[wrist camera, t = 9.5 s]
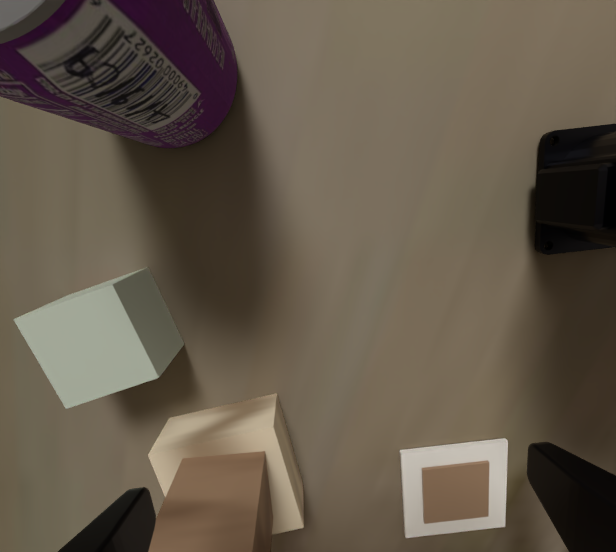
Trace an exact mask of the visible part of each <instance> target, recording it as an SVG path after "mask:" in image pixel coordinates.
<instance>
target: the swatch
mask: <svg viewBox="0 0 616 552" xmlns="http://www.w3.org/2000/svg"><path fill="white" fill-rule="evenodd" d="M507 454H508V441H507V440H506V438H502V439H493V440H485V441H476V442H467V443H458V444H449V445H441V446H432V447H423V448H414V449H405V450H400V464H401V483H402V501H403V519H404V535H405V538H411V537H420V536H429V535H437V534H446V533H455V532H464V531H472V530H481V529H490V528H499V527H505V516H506V485H507Z"/></svg>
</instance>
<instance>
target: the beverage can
mask: <svg viewBox="0 0 616 552" xmlns="http://www.w3.org/2000/svg"><path fill="white" fill-rule="evenodd" d="M236 86H237V62H236V56H235V51H234V47H233V44H232V41H231V39H230V36H229V34H228V32H227V30H226V27H225V25H224V23H223V20H222V18H221V16H220V14H219V11H218V9H217V7H216V5H215V2H214V0H0V96H1V97H4V98H7V99H10V100H13V101H16V102H19V103H22V104H25V105H28V106H31V107H34V108H37V109H40V110H43V111H47V112H50V113H53V114H56V115H59V116H62V117H65V118H68V119H71V120H74V121H77V122H80V123H83V124H86V125H89V126H93V127H96V128H99V129H102V130H105V131H108V132H111V133H114V134H117V135H120V136H123V137H126V138H129V139H132V140H135V141H139V142H142V143H145V144H148V145H151V146H155V147H161V148H178V147H184V146H188V145H191V144H194V143H196V142H198V141H200V140H202V139H204V138H205V137H207V136H208V135H210V134H211V133H212V132H213V131H214V130H215V129H216V128H217V127H218V126H219V125H220V124H221V122H222V121H223V120H224V118H225V117H226V115H227V113H228V111H229V109H230V107H231V105H232V102H233V99H234V96H235V92H236Z"/></svg>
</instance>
